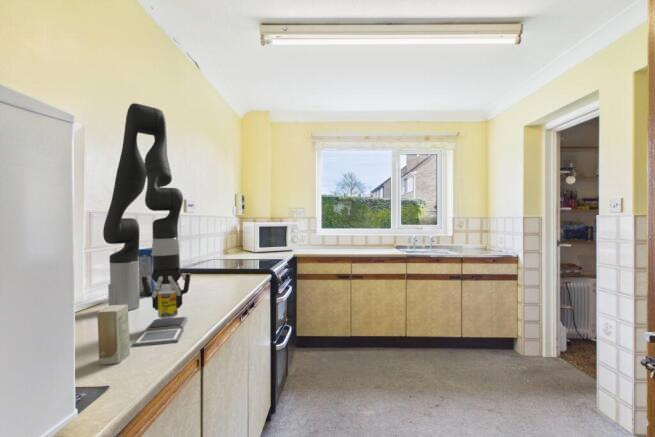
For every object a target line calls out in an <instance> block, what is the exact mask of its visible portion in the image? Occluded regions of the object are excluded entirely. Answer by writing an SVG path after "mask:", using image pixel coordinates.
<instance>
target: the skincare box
mask: <svg viewBox="0 0 655 437" xmlns="http://www.w3.org/2000/svg"><path fill="white" fill-rule="evenodd" d="M129 322H130V321H129V310H128V305H110V306H109V305H108V306H106V307H104V308H103V309H101V310H99V311H97V331H98V332H97V336H98V337H97V339H98V341H97V342H98V360H99V361H98V362H99V364H98V365H117V364H119V363H122V361H123V360H124V359H126V358H127V357H128V356H129V355H130V350H131V348H130V325H129V324H130V323H129Z"/></svg>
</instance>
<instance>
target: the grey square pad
mask: <svg viewBox="0 0 655 437" xmlns="http://www.w3.org/2000/svg"><path fill="white" fill-rule="evenodd" d="M184 331H185V329H184V328H183V329H169V330H157V331H146V330H145V331H142V332H141V333H140V335H139V336H138V337H137V338H136V340H134V341H133V343H132V346H131V347H140V346H151V345H152V346H153V345H160V344H162V345H163V344H172V343H179V340H180V338H181V337H182V334H183V333H184Z"/></svg>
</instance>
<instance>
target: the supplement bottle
mask: <svg viewBox="0 0 655 437" xmlns="http://www.w3.org/2000/svg"><path fill="white" fill-rule="evenodd" d="M160 289H161V290H159V291H158V293H157V296H158V310H157V316H158V319H167V318H176V317H177V316H178V312H179V311H178V309H179V308H177V297H176V296H177V294H176V292H175V290H174V289H173V287H172V285H171V284H161V286H160Z"/></svg>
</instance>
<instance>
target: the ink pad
mask: <svg viewBox="0 0 655 437" xmlns="http://www.w3.org/2000/svg"><path fill="white" fill-rule="evenodd" d="M187 322H188V316H180V317H173V318H167V319H162V318H156V319H153V320H152V321H151V322H150V324H149V325H148V326H147V327H146V328H145V332H146V331H157V330H169V329H184V328H185V326H186V324H187Z"/></svg>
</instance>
